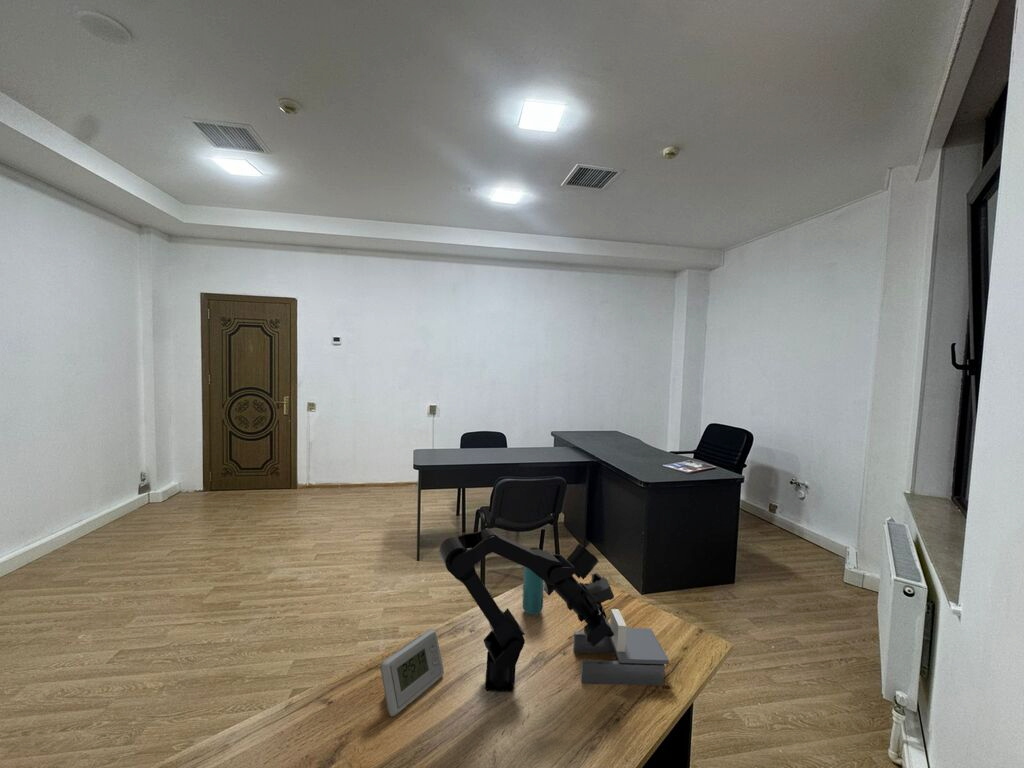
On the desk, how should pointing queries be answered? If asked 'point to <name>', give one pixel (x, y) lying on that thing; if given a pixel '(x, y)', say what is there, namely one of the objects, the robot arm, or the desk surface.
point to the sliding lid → (635, 643)
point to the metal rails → (614, 666)
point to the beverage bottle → (532, 591)
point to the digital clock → (411, 671)
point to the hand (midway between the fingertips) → (612, 635)
